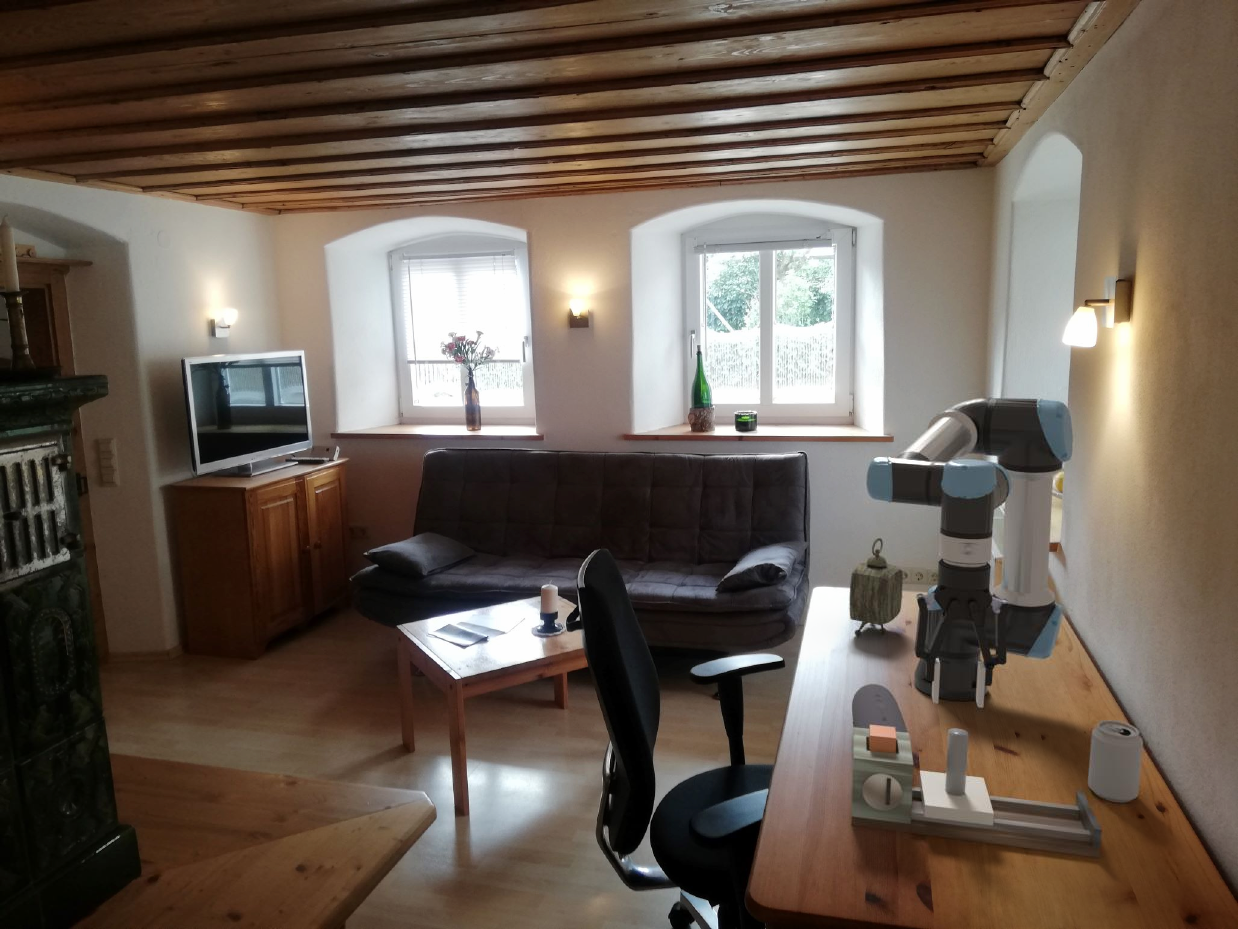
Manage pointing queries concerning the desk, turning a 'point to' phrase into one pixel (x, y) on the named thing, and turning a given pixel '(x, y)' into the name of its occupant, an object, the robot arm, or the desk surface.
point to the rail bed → (1021, 823)
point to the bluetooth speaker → (876, 708)
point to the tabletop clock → (875, 591)
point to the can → (1115, 761)
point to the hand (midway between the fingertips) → (957, 701)
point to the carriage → (956, 787)
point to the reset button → (882, 739)
